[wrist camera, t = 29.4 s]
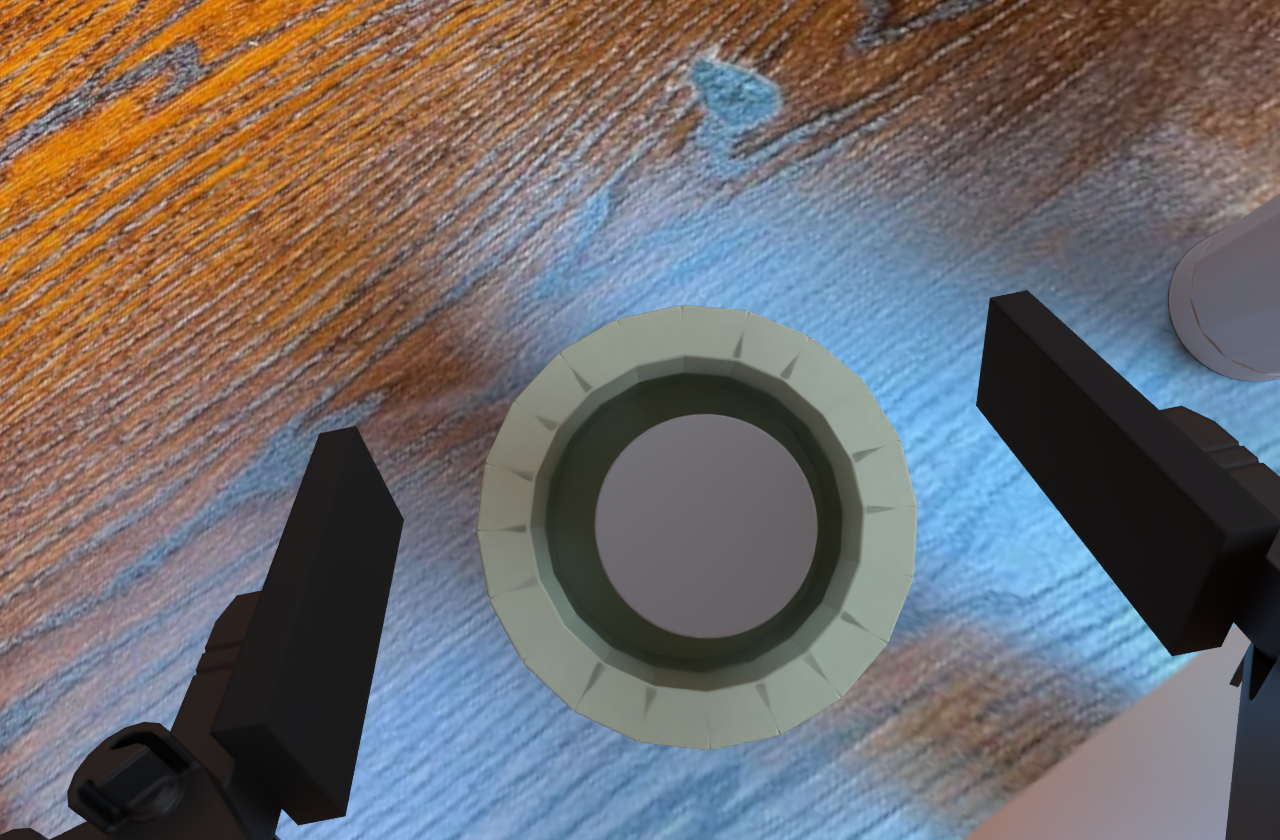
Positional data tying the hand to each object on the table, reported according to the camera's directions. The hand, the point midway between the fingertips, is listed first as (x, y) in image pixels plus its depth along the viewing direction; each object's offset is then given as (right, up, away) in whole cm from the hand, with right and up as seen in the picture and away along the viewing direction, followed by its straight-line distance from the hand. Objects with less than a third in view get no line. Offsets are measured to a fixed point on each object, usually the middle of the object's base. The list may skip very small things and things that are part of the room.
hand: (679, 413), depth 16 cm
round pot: (+1, -4, +15) cm, 15 cm away
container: (+1, -4, +14) cm, 15 cm away
